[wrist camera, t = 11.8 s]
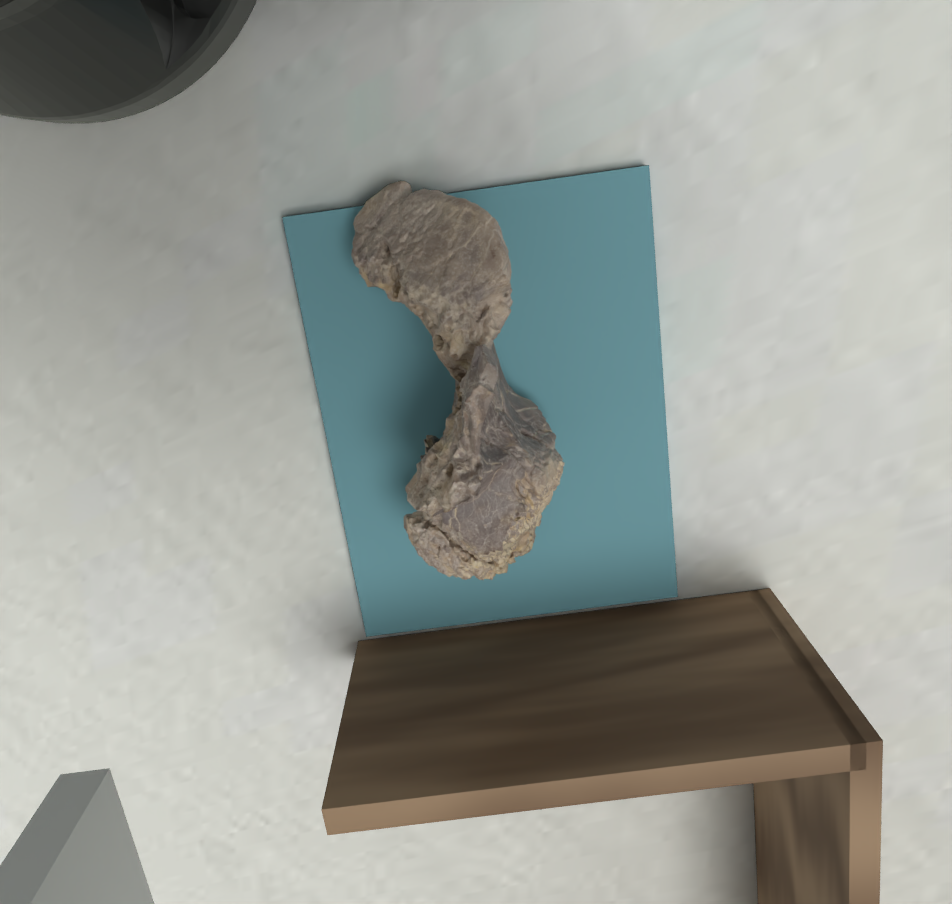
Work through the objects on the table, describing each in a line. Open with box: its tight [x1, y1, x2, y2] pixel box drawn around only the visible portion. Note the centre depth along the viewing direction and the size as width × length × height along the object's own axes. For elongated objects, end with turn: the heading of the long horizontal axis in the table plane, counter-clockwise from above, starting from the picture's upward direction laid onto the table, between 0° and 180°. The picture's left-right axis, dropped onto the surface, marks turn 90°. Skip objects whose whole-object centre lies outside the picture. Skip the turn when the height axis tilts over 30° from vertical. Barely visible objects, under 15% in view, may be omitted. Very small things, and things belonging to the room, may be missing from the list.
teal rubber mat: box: [282, 165, 678, 637], centre depth 33 cm, size 17×13×1 cm
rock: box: [351, 181, 565, 580], centre depth 28 cm, size 6×14×7 cm, turn 10°
